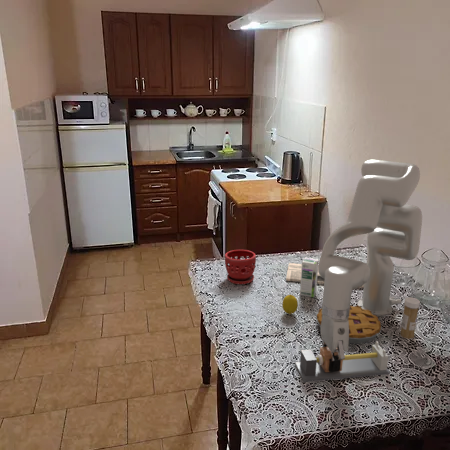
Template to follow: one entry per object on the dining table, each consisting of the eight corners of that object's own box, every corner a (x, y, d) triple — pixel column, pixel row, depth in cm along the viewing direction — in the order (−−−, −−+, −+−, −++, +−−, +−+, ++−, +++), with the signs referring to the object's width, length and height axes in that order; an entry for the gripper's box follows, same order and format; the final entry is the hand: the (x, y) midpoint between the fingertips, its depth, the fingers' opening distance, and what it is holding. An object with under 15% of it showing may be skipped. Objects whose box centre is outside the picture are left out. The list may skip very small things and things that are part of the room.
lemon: (296, 319, 154) (298, 299, 151) (281, 317, 155) (282, 297, 152) (297, 311, 159) (298, 292, 156) (282, 309, 160) (283, 290, 157)
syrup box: (299, 295, 171) (301, 261, 167) (302, 289, 176) (304, 256, 172) (313, 297, 169) (316, 264, 164) (316, 291, 174) (319, 258, 170)
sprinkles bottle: (414, 340, 141) (420, 304, 137) (400, 338, 143) (405, 302, 138) (413, 333, 145) (419, 297, 141) (399, 331, 147) (404, 295, 142)
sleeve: (334, 360, 128) (336, 345, 127) (341, 370, 124) (343, 356, 122) (319, 361, 128) (320, 347, 126) (325, 372, 123) (326, 357, 121)
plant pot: (260, 278, 186) (261, 252, 182) (245, 289, 176) (246, 262, 172) (234, 271, 193) (235, 246, 189) (218, 281, 182) (218, 255, 178)
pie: (308, 313, 158) (309, 301, 156) (366, 312, 159) (367, 300, 158) (325, 348, 137) (326, 335, 135) (391, 346, 138) (393, 333, 137)
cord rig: (376, 357, 132) (379, 338, 130) (389, 374, 125) (392, 353, 123) (295, 364, 129) (296, 344, 126) (303, 382, 121) (305, 361, 119)
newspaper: (285, 282, 183) (286, 276, 182) (289, 264, 201) (289, 259, 200) (376, 291, 176) (376, 285, 175) (371, 272, 194) (371, 266, 193)
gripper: (361, 324, 112) (354, 382, 118) (336, 294, 128) (331, 346, 134) (334, 326, 111) (328, 385, 117) (312, 296, 127) (308, 348, 133)
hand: (330, 364), depth 126 cm, fingers closed on sleeve, 5 cm apart
